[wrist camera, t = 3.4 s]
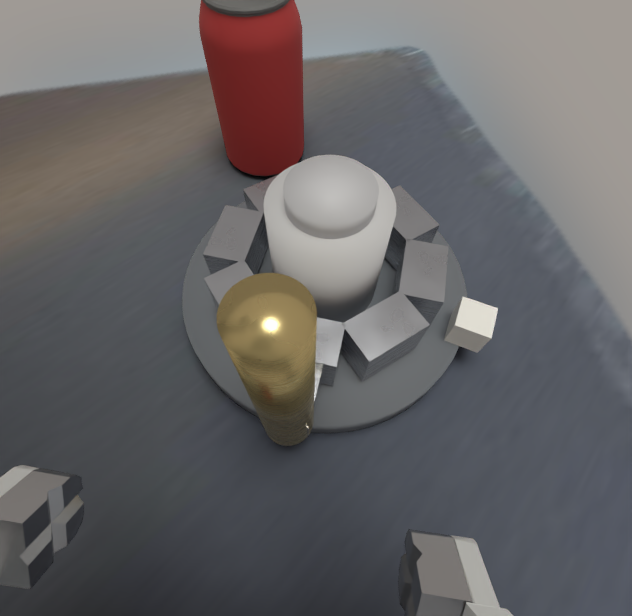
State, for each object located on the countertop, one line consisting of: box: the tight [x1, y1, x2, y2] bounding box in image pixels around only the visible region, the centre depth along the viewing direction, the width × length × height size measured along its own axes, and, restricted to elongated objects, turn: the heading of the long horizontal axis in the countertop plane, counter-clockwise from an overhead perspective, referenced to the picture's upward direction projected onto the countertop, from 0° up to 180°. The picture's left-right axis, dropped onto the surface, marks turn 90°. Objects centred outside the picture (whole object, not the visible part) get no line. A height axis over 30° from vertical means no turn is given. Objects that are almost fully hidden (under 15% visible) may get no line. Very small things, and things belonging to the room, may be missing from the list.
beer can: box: [199, 0, 304, 176], centre depth 28 cm, size 7×7×12 cm
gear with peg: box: [203, 175, 449, 446], centre depth 19 cm, size 17×13×12 cm
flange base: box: [182, 155, 498, 433], centre depth 22 cm, size 19×18×10 cm
